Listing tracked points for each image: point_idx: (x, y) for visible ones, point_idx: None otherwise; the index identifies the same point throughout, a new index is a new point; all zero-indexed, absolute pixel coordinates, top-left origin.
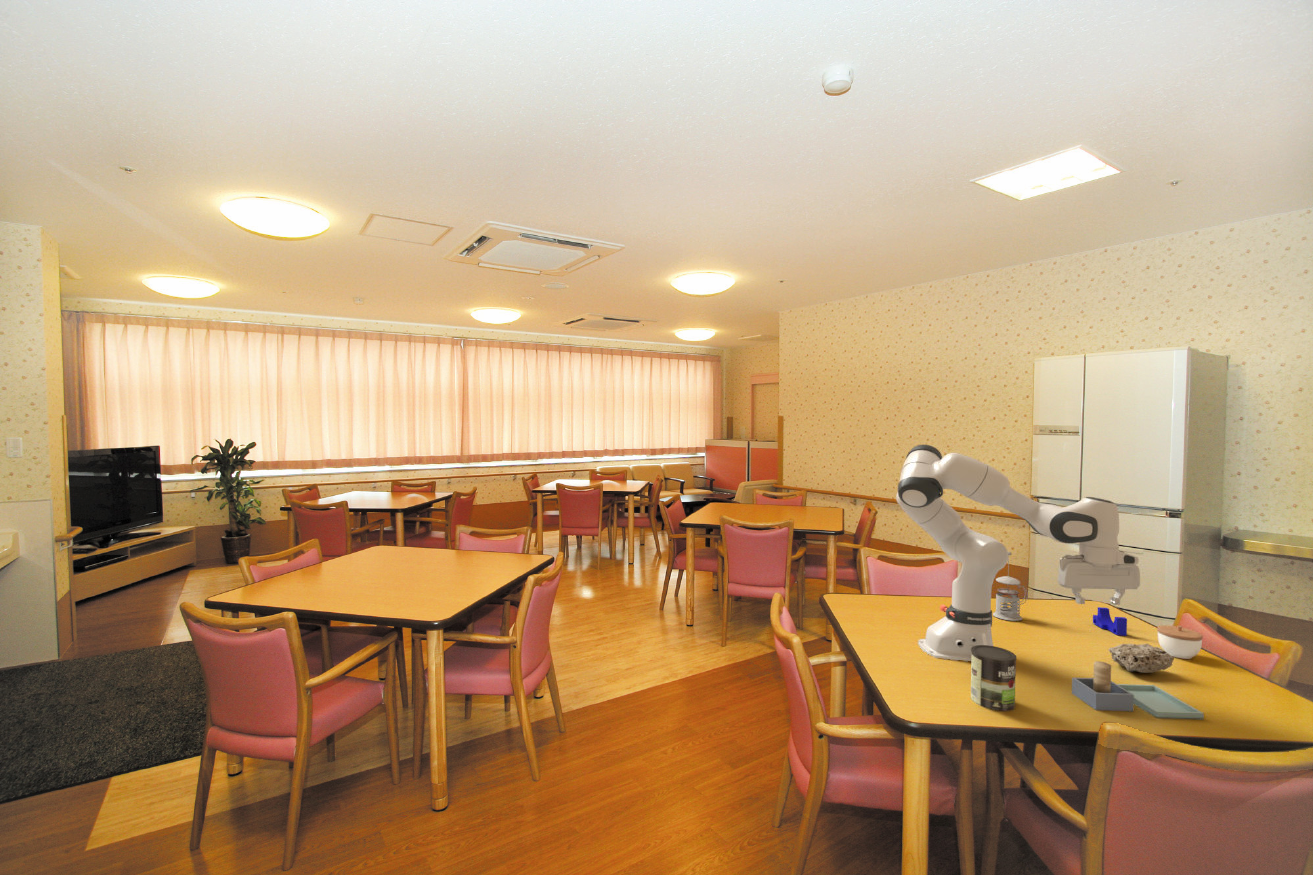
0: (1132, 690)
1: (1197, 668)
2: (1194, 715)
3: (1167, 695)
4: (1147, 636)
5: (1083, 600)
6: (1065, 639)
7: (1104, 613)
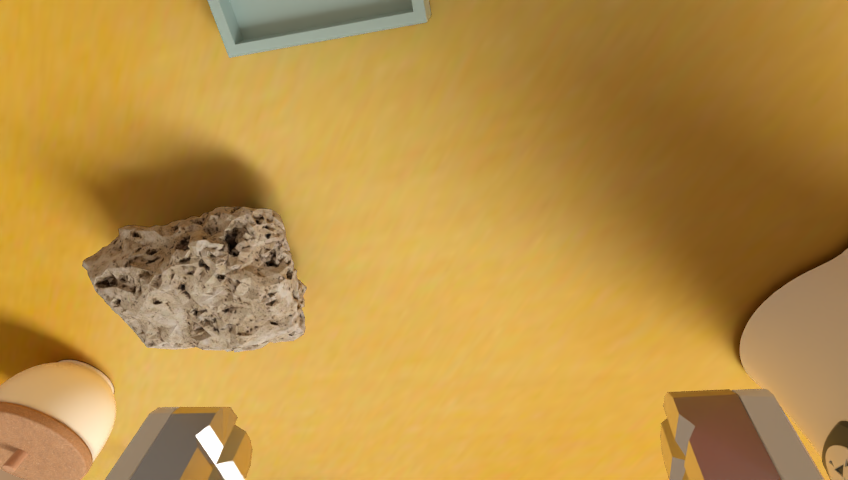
0: (339, 13)
1: (48, 301)
2: None
3: None
4: None
5: (722, 439)
6: (378, 446)
7: None
